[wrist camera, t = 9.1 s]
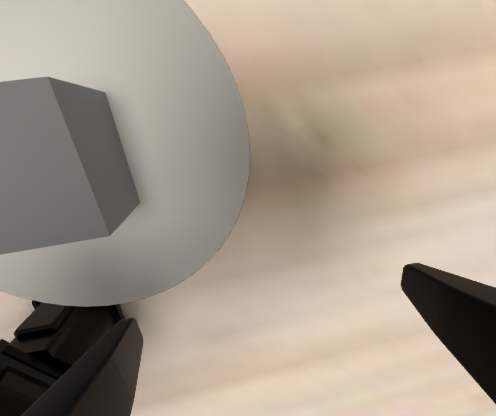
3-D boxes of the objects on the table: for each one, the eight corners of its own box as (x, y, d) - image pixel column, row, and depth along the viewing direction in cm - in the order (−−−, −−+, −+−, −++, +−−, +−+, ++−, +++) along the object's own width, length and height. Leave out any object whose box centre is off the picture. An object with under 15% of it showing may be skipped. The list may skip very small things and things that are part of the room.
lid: (263, 267, 11) (281, 323, 8) (-15, 320, 10) (-115, 408, 7) (218, -94, 6) (222, -283, 3) (-293, -63, 5) (-920, -290, 2)
